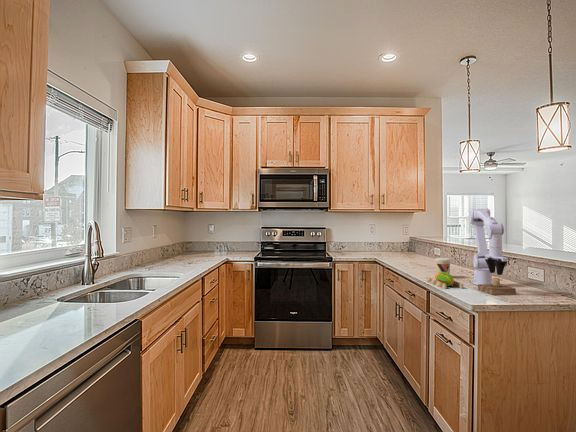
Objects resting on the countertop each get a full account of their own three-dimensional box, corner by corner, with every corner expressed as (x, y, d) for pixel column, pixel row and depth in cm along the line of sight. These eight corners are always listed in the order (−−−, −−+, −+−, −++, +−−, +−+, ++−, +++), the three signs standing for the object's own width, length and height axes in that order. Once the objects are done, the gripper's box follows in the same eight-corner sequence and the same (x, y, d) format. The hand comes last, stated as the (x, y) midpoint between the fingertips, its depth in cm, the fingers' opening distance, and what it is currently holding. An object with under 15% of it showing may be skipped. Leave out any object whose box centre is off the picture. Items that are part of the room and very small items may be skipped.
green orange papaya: (444, 274, 186) (429, 268, 206) (443, 288, 186) (428, 281, 206) (457, 274, 186) (441, 269, 206) (457, 288, 186) (441, 282, 206)
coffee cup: (436, 278, 215) (436, 259, 215) (433, 276, 224) (432, 257, 224) (452, 278, 214) (452, 259, 214) (448, 276, 223) (447, 257, 223)
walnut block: (478, 289, 181) (477, 284, 181) (500, 289, 181) (500, 283, 181) (491, 294, 169) (491, 288, 169) (515, 294, 169) (515, 288, 169)
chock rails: (426, 281, 207) (426, 276, 207) (443, 280, 207) (443, 276, 207) (444, 288, 184) (444, 284, 184) (463, 288, 184) (463, 284, 184)
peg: (490, 291, 177) (490, 277, 177) (497, 291, 177) (497, 277, 177) (495, 292, 173) (494, 279, 173) (501, 292, 173) (501, 279, 173)
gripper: (479, 246, 182) (480, 271, 182) (496, 248, 168) (497, 276, 168) (492, 246, 182) (493, 271, 182) (510, 248, 168) (511, 276, 168)
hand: (495, 273), depth 175 cm, fingers open, 5 cm apart
